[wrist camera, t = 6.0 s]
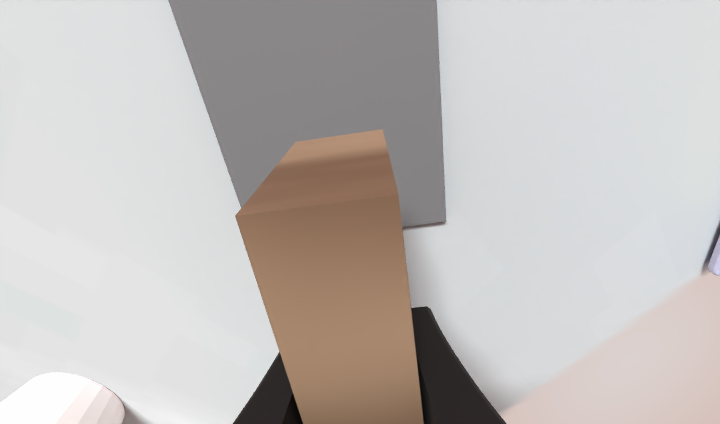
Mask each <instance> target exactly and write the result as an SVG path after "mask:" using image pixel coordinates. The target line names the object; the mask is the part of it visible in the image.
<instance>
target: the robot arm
mask: <svg viewBox="0 0 720 424" xmlns="http://www.w3.org/2000/svg"><path fill="white" fill-rule="evenodd" d="M708 270H709V271H710V272H712V273H713V274H715V275H720V236H719V238H718V241H717V243H716V246H715V249H714V251H713V254H712V257H711V259H710V262H709V264H708ZM411 313H412V322H413V331H414V340H415V349H416V358H417V367H418V376H419V386H420V395H421V404H422V413H423V422H424V424H506V423H505V421H504V420H503V419H502V418H501V416H500V415H499V414H498V413H497V411H496V410H495V409H494V408H493V406H492V405H491V404H490V402H489V401H488V400H487V398H486V397H485V396H484V394H483V393H482V392H481V391H480V389H479V388H478V387H477V385H476V384H475V382H474V381H473V380H472V378H471V377H470V375H469V374H468V372H467V371H466V369H465V368H464V367H463V365H462V364H461V362H460V361H459V359H458V358H457V356H456V355H455V353H454V351H453V350H452V348H451V347H450V345H449V343H448V342H447V340H446V338H445V337H444V335H443V333H442V331H441V330H440V328H439V326H438V324H437V322H436V320H435V318H434V316H433V314H432V311H431V309H430V308H428V307H427V306H426V307H417V308H411ZM233 424H303V422H302V419H301V416H300V413H299V409H298V406H297V403H296V400H295V397H294V394H293V391H292V388H291V385H290V382H289V379H288V376H287V373H286V370H285V367H284V364H283V361H282V357H281V354H280V352H279V353H278V355H277V357H276V358H275V360H274V362H273V363H272V365H271V367H270V368H269V370H268V371H267V373H266V375H265V376H264V378H263V380H262V381H261V383H260V384H259V386H258V388H257V389H256V391H255V392H254V394H253V395H252V397H251V398H250V400H249V401H248V402H247V404H246V405H245V407H244V408H243V410H242V411H241V413H240V414H239V416H238V417H237V418H236V420H235V421H234V423H233Z"/></svg>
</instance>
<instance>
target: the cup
mask: <svg viewBox="0 0 720 424" xmlns="http://www.w3.org/2000/svg"><path fill="white" fill-rule="evenodd" d="M124 416H125V410H124V406H123V404H122V402H121V400H120V399H119V398H118V397H117V396H116V395H115V394H114V393H113V392H112V391H110V390H109V389H107V388H106V387H105V386H103V385H101V384H99V383H97V382H95V381H93V380H91V379H88V378H85V377H81V376H78V375H73V374H67V373H48V374H43V375H39V376H37V377H35V378H33V379H31V380H30V381H29V382H27V383H26V384H25V385H23V386H22V387H21V388H19V389H18V390H17V391H15V392H14V393H13V394H11V395H10V396H9V397H8V398H6V399H5V400H4V401H2V402H1V403H0V424H122V422H123V419H124Z"/></svg>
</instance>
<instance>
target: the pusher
mask: <svg viewBox="0 0 720 424" xmlns="http://www.w3.org/2000/svg"><path fill="white" fill-rule="evenodd" d="M235 217H236V220H237V223H238V226H239V229H240V232H241V235H242V238H243V241H244V244H245V247H246V250H247V253H248V256H249V260H250V263H251V266H252V269H253V272H254V275H255V278H256V281H257V284H258V287H259V290H260V293H261V296H262V299H263V302H264V305H265V308H266V312H267V315H268V318H269V321H270V324H271V327H272V330H273V333H274V336H275V339H276V342H277V345H278V348H279V351H280V354H281V357H282V361H283V364H284V367H285V370H286V373H287V376H288V379H289V382H290V385H291V388H292V391H293V394H294V397H295V400H296V403H297V406H298V409H299V413H300V416H301V419H302V422H303V424H424V422H423V413H422V404H421V395H420V386H419V376H418V367H417V358H416V349H415V340H414V331H413V322H412V313H411V304H410V295H409V286H408V277H407V268H406V259H405V249H404V240H403V231H402V222H401V213H400V204H399V195H398V190H397V186H396V182H395V178H394V174H393V170H392V166H391V161H390V157H389V153H388V149H387V145H386V141H385V136H384V132H383V129H380V130H373V131H367V132H360V133H353V134H346V135H339V136H332V137H326V138H319V139H312V140H305V141H298V142H295V143H294V144H293V146H292V147H291V148H290V149H289V151H288V152H287V153H286V154H285V155H284V157H283V158H282V159H281V160H280V162H279V163H278V164H277V165H276V166H275V168H274V169H273V170H272V171H271V173H270V174H269V175H268V176H267V178H266V179H265V180H264V181H263V182H262V184H261V185H260V186H259V187H258V189H257V190H256V191H255V192H254V193H253V195H252V196H251V197H250V198H249V200H248V201H247V202H246V203H245V204H244V206H243V207H242V208H241V209H240V211H239V212H238V213H237V214H236V215H235Z"/></svg>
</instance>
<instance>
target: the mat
mask: <svg viewBox="0 0 720 424" xmlns="http://www.w3.org/2000/svg"><path fill="white" fill-rule="evenodd" d="M169 3H170V6H171V9H172V12H173V15H174V17H175V20H176V23H177V26H178V29H179V32H180V35H181V37H182V40H183V43H184V46H185V49H186V52H187V55H188V57H189V60H190V63H191V66H192V69H193V72H194V75H195V77H196V80H197V83H198V86H199V89H200V92H201V94H202V97H203V100H204V103H205V106H206V109H207V112H208V114H209V117H210V120H211V123H212V126H213V129H214V132H215V134H216V137H217V140H218V143H219V146H220V149H221V152H222V154H223V157H224V160H225V163H226V166H227V169H228V172H229V174H230V177H231V180H232V183H233V186H234V189H235V192H236V194H237V197H238V200H239V203H240V206H241V208H242V207H243V206H244V204H245V203H246V202H247V201H248V200H249V198H250V197H251V196H252V195H253V193H254V192H255V191H256V190H257V189H258V187H259V186H260V185H261V184H262V182H263V181H264V180H265V179H266V178H267V176H268V175H269V174H270V173H271V171H272V170H273V169H274V168H275V166H276V165H277V164H278V163H279V162H280V160H281V159H282V158H283V157H284V155H285V154H286V153H287V152H288V151H289V149H290V148H291V147H292V146H293V144H294V143H295V142H298V141H305V140H312V139H319V138H326V137H332V136H339V135H346V134H353V133H360V132H367V131H373V130H380V129H383V132H384V136H385V141H386V145H387V149H388V153H389V157H390V161H391V166H392V170H393V174H394V178H395V182H396V186H397V190H398V195H399V204H400V213H401V222H402V227H406V226H414V225H422V224H429V223H437V222H445V221H446V208H445V185H444V162H443V140H442V117H441V94H440V72H439V49H438V26H437V4H436V0H169Z"/></svg>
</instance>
